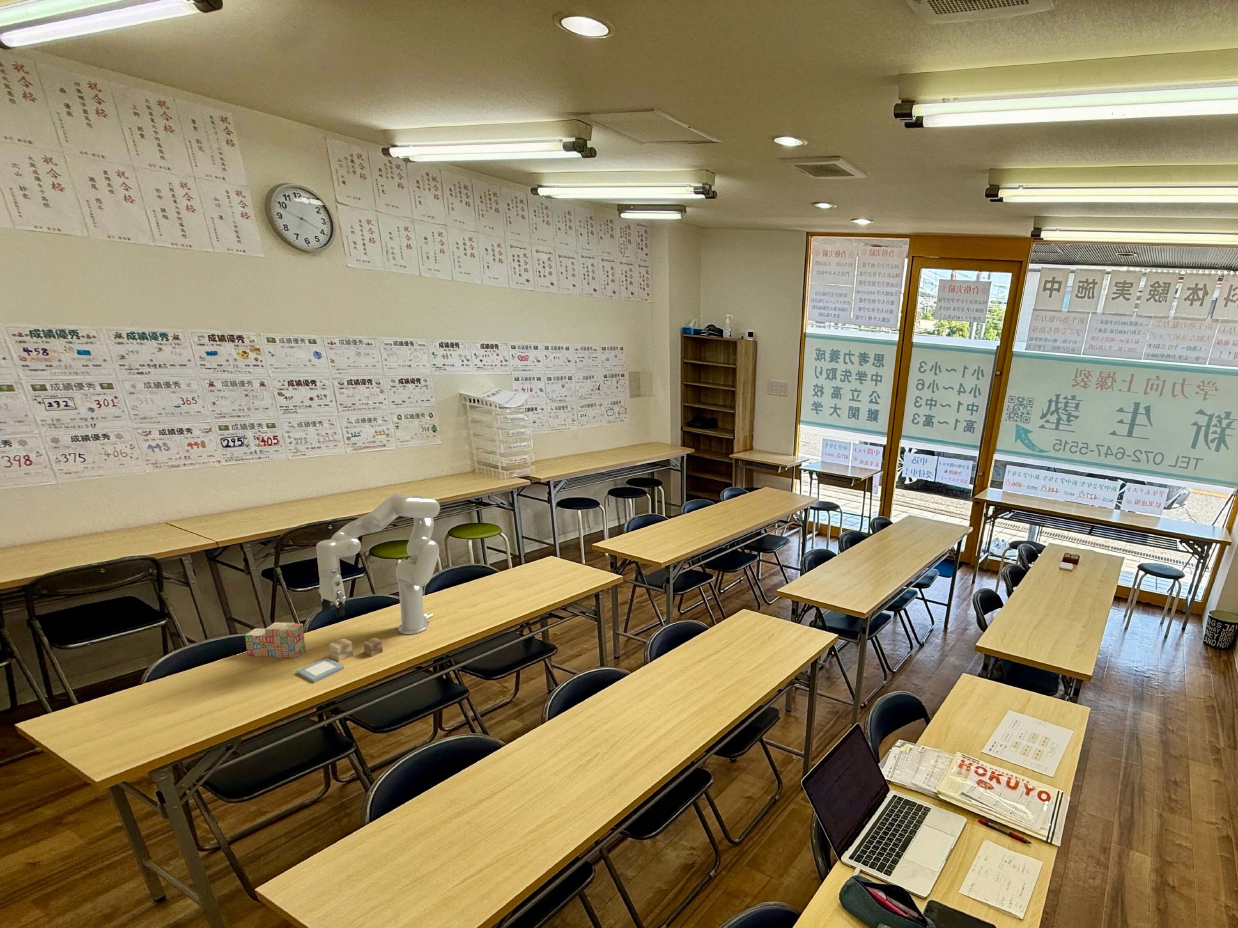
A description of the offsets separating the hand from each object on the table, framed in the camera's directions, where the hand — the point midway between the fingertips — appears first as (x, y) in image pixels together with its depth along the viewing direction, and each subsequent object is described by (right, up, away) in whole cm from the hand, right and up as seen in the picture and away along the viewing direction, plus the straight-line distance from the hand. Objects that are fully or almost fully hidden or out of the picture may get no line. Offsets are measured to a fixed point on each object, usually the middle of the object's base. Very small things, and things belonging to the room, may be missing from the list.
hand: (333, 612), depth 230 cm
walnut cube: (+12, -18, +8) cm, 24 cm away
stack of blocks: (-27, -19, +8) cm, 34 cm away
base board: (-2, -21, -6) cm, 22 cm away
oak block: (+1, -19, +5) cm, 20 cm away
